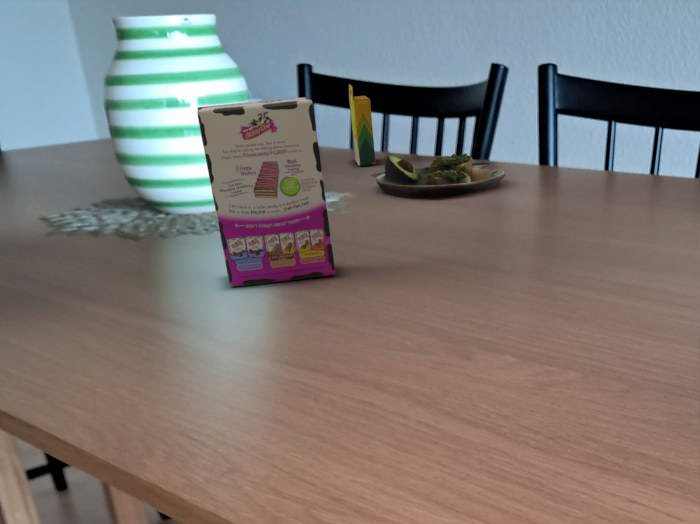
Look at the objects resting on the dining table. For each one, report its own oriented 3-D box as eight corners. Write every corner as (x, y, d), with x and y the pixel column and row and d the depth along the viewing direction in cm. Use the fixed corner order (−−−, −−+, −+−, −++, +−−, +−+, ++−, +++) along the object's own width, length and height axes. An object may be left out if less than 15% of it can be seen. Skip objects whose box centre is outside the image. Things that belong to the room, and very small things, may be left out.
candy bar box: (330, 265, 110) (309, 95, 101) (336, 276, 106) (315, 100, 97) (226, 277, 108) (195, 104, 99) (228, 288, 104) (196, 109, 95)
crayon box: (376, 165, 168) (369, 85, 161) (358, 166, 167) (350, 87, 161) (372, 159, 174) (364, 82, 167) (354, 160, 173) (347, 83, 167)
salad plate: (453, 171, 159) (451, 138, 157) (535, 180, 148) (534, 146, 146) (356, 190, 148) (352, 156, 146) (437, 202, 137) (434, 165, 135)
